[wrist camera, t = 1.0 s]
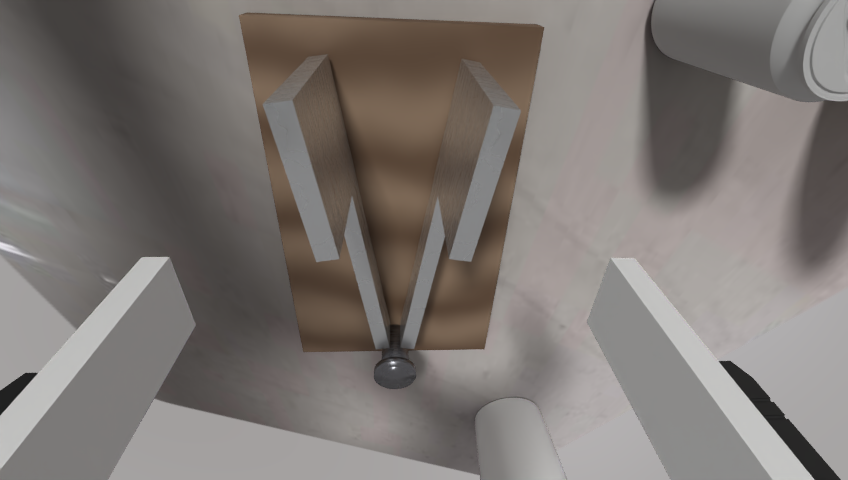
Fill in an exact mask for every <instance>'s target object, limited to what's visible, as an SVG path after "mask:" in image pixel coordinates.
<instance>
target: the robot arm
mask: <svg viewBox="0 0 848 480" xmlns="http://www.w3.org/2000/svg"><path fill="white" fill-rule="evenodd" d="M587 323H588V325H589V327H590V329H591V331H592V332H593V334H594V336H595V338H596V340H597V342H598V344H599V346H600V348H601V349H602V351H603V353H604V355H605V357H606V359H607V361H608V363H609V364H610V366H611V368H612V370H613V372H614V374H615V376H616V378H617V380H618V381H619V383H620V385H621V387H622V389H623V391H624V393H625V395H626V396H627V398H628V400H629V402H630V404H631V406H632V408H633V410H634V411H635V413H636V415H637V417H638V419H639V421H640V423H641V425H642V427H643V428H644V430H645V432H646V434H647V436H648V438H649V440H650V442H651V443H652V445H653V447H654V449H655V451H656V453H657V455H658V456H659V459H660V460H661V462H662V464H663V466H664V468H665V470H666V472H667V474H668V476H669V477H670V479H671V480H840V478H839V477H838V476H837V475H836V474H835V473H834V471H833V470H832V469H831V468H830V467H829V466H828V464H827V463H826V462H825V461H824V460H823V459H822V457H821V456H820V455H819V454H818V453H817V452H816V451H815V449H814V448H813V447H812V446H811V445H810V444H809V442H808V441H807V440H806V439H805V438H804V437H803V436H802V434H801V433H800V432H799V431H798V430H797V428H796V427H795V426H794V425H793V424H792V423H791V422H790V420H789V419H786V418H785V417H784V413H782V411H781V410H780V409H779V408H778V407H777V406H776V404H775V403H774V402H771V401H770V397H769V396H768V395H767V394H766V393H765V391H764V390H763V389H762V388H761V387H760V386H759V384H757V382H756V381H755V380H754V379H753V378H752V377H751V376H750V375H748V374H747V373H745V372H744V371H743V370H742V369H740V368H739V367H738V366H736V365H735V364H733V363H732V362H731V361H718V360H717V359H716V358H715V357H714V355H713V354H712V353H711V352H710V350H709V349H708V348H707V347H706V345H705V344H704V343H703V342H702V341H701V339H700V338H699V337H698V336H697V334H696V333H695V332H694V331H693V329H692V328H691V327H690V326H689V325H688V323H687V322H686V321H685V320H684V318H683V317H682V316H681V315H680V313H679V312H678V311H677V310H676V309H675V307H674V306H673V305H672V304H671V302H670V301H669V300H668V299H667V297H666V296H665V295H664V294H663V293H662V291H661V290H660V289H659V288H658V286H657V285H656V284H655V283H654V281H653V280H652V279H651V278H650V277H649V275H648V274H647V273H646V272H645V270H644V269H643V268H642V267H641V265H640V264H639V263H638V262H637V261H636V259H635V258H610V261H609V264H608V266H607V269H606V272H605V274H604V277H603V280H602V283H601V285H600V288H599V291H598V293H597V296H596V299H595V301H594V304H593V307H592V309H591V312H590V315H589V318H588V320H587ZM195 326H196V324H195V321H194V319H193V316H192V314H191V311H190V309H189V306H188V303H187V301H186V298H185V296H184V293H183V291H182V288H181V285H180V283H179V280H178V278H177V275H176V273H175V270H174V267H173V265H172V262H171V260H170V257H141V259H140V260H139V261H138V262H137V263H136V264H135V265H134V266H133V268H132V269H131V270H130V271H129V272H128V273H127V274H126V275H125V276H124V278H123V279H122V280H121V281H120V282H119V283H118V284H117V285H116V287H115V288H114V289H113V290H112V291H111V292H110V293H109V294H108V296H107V297H106V298H105V299H104V300H103V301H102V302H101V303H100V304H99V306H98V307H97V308H96V309H95V310H94V311H93V312H92V313H91V315H90V316H89V317H88V318H87V319H86V320H85V321H84V322H83V324H82V325H81V326H80V327H79V328H78V329H77V330H76V331H75V332H74V334H73V335H72V336H71V337H70V338H69V339H68V340H67V341H66V343H65V344H64V345H63V346H62V347H61V348H60V349H59V350H58V352H57V353H56V354H55V355H54V356H53V357H52V358H51V359H50V361H49V362H48V363H47V364H46V365H45V366H44V367H43V368H42V369H41V371H40V372H39V373H25V374H23V375H22V376H20V377H19V378H18V379H16V380H15V381H13V382H12V383H11V384H9V385H8V386H6V387H5V388H3V389H2V390H1V391H0V480H108V479H109V477H110V475H111V473H112V471H113V470H114V468H115V466H116V465H117V463H118V461H119V459H120V458H121V456H122V454H123V452H124V451H125V449H126V447H127V445H128V443H129V442H130V440H131V438H132V437H133V435H134V433H135V431H136V429H137V428H138V426H139V424H140V422H141V421H142V419H143V417H144V415H145V414H146V412H147V410H148V408H149V407H150V405H151V403H152V401H153V400H154V398H155V396H156V394H157V393H158V391H159V389H160V387H161V386H162V384H163V382H164V380H165V379H166V377H167V375H168V373H169V372H170V370H171V368H172V366H173V365H174V363H175V361H176V359H177V358H178V356H179V354H180V352H181V351H182V349H183V347H184V345H185V344H186V342H187V340H188V338H189V337H190V335H191V333H192V331H193V330H194V328H195Z"/></svg>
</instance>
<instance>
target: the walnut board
mask: <svg viewBox="0 0 848 480" xmlns="http://www.w3.org/2000/svg"><path fill="white" fill-rule="evenodd" d="M239 18H240V24H241V29H242V34H243V39H244V44H245V50H246V55H247V60H248V65H249V71H250V76H251V81H252V86H253V91H254V97H255V102H256V107H257V112H258V118H259V123H260V128H261V133H262V139H263V144H264V149H265V154H266V159H267V165H268V170H269V175H270V180H271V186H272V191H273V196H274V201H275V207H276V212H277V217H278V222H279V227H280V233H281V238H282V243H283V248H284V254H285V259H286V264H287V269H288V275H289V280H290V285H291V290H292V295H293V301H294V306H295V311H296V316H297V322H298V327H299V332H300V337H301V343H302V348H303V352H337V351H382V349H378V350H376V348H375V344H374V341H373V337H372V334H371V330H370V326H369V323H368V319H367V316H366V312H365V308H364V305H363V301H362V298H361V294H360V290H359V287H358V283H357V279H356V276H355V272H354V269H353V265H352V261H351V258H350V254H349V251H348V247H347V243H346V240H345V236H344V239H343V244H342V249H341V254H340V259H336V260H328V261H321V262H316V260H315V257H314V254H313V251H312V248H311V245H310V242H309V239H308V236H307V233H306V230H305V227H304V225H303V222H302V219H301V216H300V213H299V210H298V207H297V204H296V201H295V198H294V195H293V192H292V189H291V186H290V183H289V180H288V178H287V175H286V172H285V169H284V166H283V163H282V160H281V157H280V154H279V151H278V148H277V145H276V142H275V139H274V136H273V133H272V131H271V128H270V125H269V122H268V119H267V116H266V113H265V110H264V107H263V103H264V102H265V101H266V100H267V99H268V98H269V97H270V96H271V95H272V94H273V93H274V92H275V91H276V90H277V89H278V88H279V87H280V86H281V84H282V83H283V82H284V81H285V80H286V79H287V78H288V77H289V76H290V75H291V74H292V73H293V72H294V71H295V70H296V69H297V68H298V67H299V66H300V65H301V64H302V63H303V62H304V61H305V60H306V59H307V58H308V57H310V56H317V55H325V54H328V57H329V61H330V65H331V70H332V74H333V78H334V82H335V87H336V91H337V95H338V100H339V104H340V108H341V112H342V117H343V121H344V125H345V130H346V134H347V138H348V143H349V147H350V151H351V155H352V160H353V164H354V168H355V173H356V178H357V182H358V187H359V191H360V195H361V199H362V204H363V208H364V212H365V217H366V221H367V225H368V229H369V234H370V238H371V242H372V247H373V251H374V255H375V259H376V264H377V268H378V272H379V277H380V281H381V285H382V289H383V294H384V298H385V302H386V307H387V311H388V315H389V319H390V325H393V324H398V325H400V321H401V317H402V313H403V308H404V304H405V300H406V296H407V291H408V287H409V283H410V278H411V274H412V270H413V266H414V261H415V257H416V253H417V248H418V244H419V240H420V236H421V231H422V227H423V223H424V218H425V214H426V210H427V206H428V201H429V197H430V193H431V188H432V184H433V180H434V175H435V170H436V166H437V162H438V157H439V153H440V149H441V145H442V140H443V136H444V132H445V127H446V123H447V119H448V115H449V110H450V106H451V102H452V97H453V93H454V89H455V85H456V80H457V76H458V72H459V67H460V63H461V59H466V60H471V61H476V62H480V63H481V64H482V65H483V66H484V68H485V69H486V70H487V71H488V72H489V73H490V75H491V76H492V77H493V78H494V79H495V80H496V82H497V83H498V84H499V85H500V86H501V88H502V89H503V90H504V91H505V92H506V93H507V95H508V96H509V97H510V98H511V99H512V100H513V102H514V103H515V104H516V105H517V106H518V108H519V109H520V110H521V113H520V116H519V119H518V122H517V125H516V128H515V131H514V134H513V137H512V140H511V143H510V146H509V149H508V152H507V155H506V158H505V161H504V164H503V167H502V170H501V173H500V176H499V179H498V182H497V185H496V188H495V191H494V194H493V197H492V200H491V203H490V206H489V209H488V212H487V215H486V218H485V221H484V224H483V227H482V231H481V234H480V237H479V240H478V243H477V246H476V249H475V252H474V255H473V258H472V261H471V262H468V261H460V260H453V259H449V257H448V251H447V245H446V240H445V238H444V242H443V246H442V249H441V253H440V257H439V260H438V264H437V267H436V271H435V275H434V278H433V282H432V286H431V289H430V293H429V297H428V300H427V304H426V308H425V311H424V315H423V319H422V322H421V326H420V329H419V333H418V337H417V340H416V344H415V348H414V349H408V350H460V349H484V348H485V343H486V337H487V332H488V327H489V321H490V316H491V311H492V305H493V300H494V294H495V289H496V284H497V278H498V273H499V268H500V262H501V257H502V251H503V246H504V241H505V235H506V230H507V225H508V219H509V214H510V208H511V203H512V198H513V192H514V187H515V182H516V176H517V171H518V165H519V160H520V155H521V149H522V144H523V139H524V133H525V128H526V123H527V117H528V112H529V106H530V101H531V96H532V90H533V85H534V80H535V74H536V69H537V63H538V58H539V53H540V47H541V42H542V37H543V31H544V27H542V26H540V25H537V24H514V23H489V22H464V21H439V20H414V19H390V18H365V17H340V16H315V15H291V14H266V13H245V14H241V15H239Z"/></svg>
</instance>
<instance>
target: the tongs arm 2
mask: <svg viewBox="0 0 848 480" xmlns="http://www.w3.org/2000/svg"><path fill="white" fill-rule="evenodd" d="M520 113H521V110H520V109H519V108H518V106H517V105H516V104H515V103H514V102H513V100H512V99H511V98H510V97H509V96H508V95H507V93H506V92H505V91H504V90H503V89H502V88H501V86H500V85H499V84H498V83H497V82H496V80H495V79H494V78H493V77H492V76H491V75H490V73H489V72H488V71H487V70H486V69H485V68H484V66H483V65H482V64H481V63H480V62H476V61H471V60H466V59H461V63H460V67H459V72H458V76H457V80H456V85H455V89H454V93H453V97H452V102H451V106H450V110H449V115H448V119H447V123H446V127H445V132H444V136H443V140H442V145H441V149H440V153H439V157H438V162H437V166H436V170H435V175H434V180H433V184H432V188H431V193H430V197H429V201H428V206H427V210H426V214H425V218H424V223H423V227H422V231H421V236H420V240H419V244H418V248H417V253H416V257H415V261H414V266H413V270H412V274H411V278H410V283H409V287H408V291H407V296H406V300H405V304H404V308H403V313H402V317H401V321H400V348H407V349H414V348H415V344H416V340H417V337H418V333H419V329H420V326H421V322H422V319H423V315H424V311H425V308H426V304H427V300H428V297H429V293H430V289H431V286H432V282H433V278H434V275H435V271H436V267H437V264H438V260H439V257H440V253H441V249H442V246H443V242H444V238H445V240H446V245H447V251H448V257H449V259H453V260H460V261H468V262H471V261H472V258H473V255H474V252H475V249H476V246H477V243H478V240H479V237H480V234H481V231H482V227H483V224H484V221H485V218H486V215H487V212H488V209H489V206H490V203H491V200H492V197H493V194H494V191H495V188H496V185H497V182H498V179H499V176H500V173H501V170H502V167H503V164H504V161H505V158H506V155H507V152H508V149H509V146H510V143H511V140H512V137H513V134H514V131H515V128H516V125H517V122H518V119H519V116H520Z"/></svg>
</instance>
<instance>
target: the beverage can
mask: <svg viewBox="0 0 848 480" xmlns="http://www.w3.org/2000/svg"><path fill="white" fill-rule="evenodd" d="M651 29H652V35H653V38H654V41H655V43H656V45H657V47H658V48H659V49H660V50H661V52H662V53H664V54H665V55H666V56H668V57H670V58H672V59H675V60H678V61H680V62H683V63H686V64H689V65H692V66H695V67H698V68H701V69H704V70H707V71H710V72H713V73H716V74H719V75H722V76H725V77H728V78H731V79H734V80H737V81H740V82H743V83H746V84H749V85H752V86H754V87H757V88H760V89H763V90H766V91H769V92H772V93H775V94H778V95H781V96H784V97H787V98H790V99H793V100H796V101H801V102H819V101H825V100H829V101H848V0H655V3H654V7H653V11H652V18H651Z"/></svg>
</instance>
